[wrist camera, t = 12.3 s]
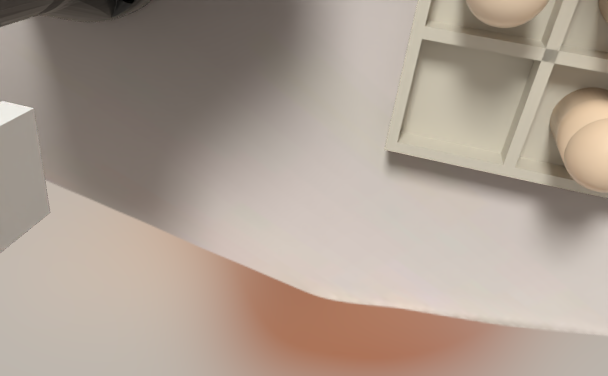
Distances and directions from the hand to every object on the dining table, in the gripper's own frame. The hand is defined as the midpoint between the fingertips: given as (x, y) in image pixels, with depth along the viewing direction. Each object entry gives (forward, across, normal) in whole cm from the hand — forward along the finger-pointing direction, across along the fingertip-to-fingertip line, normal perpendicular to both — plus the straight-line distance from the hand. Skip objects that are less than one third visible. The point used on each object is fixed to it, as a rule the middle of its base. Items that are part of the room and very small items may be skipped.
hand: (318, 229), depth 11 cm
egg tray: (+29, +9, -2) cm, 30 cm away
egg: (+28, +14, -6) cm, 32 cm away
